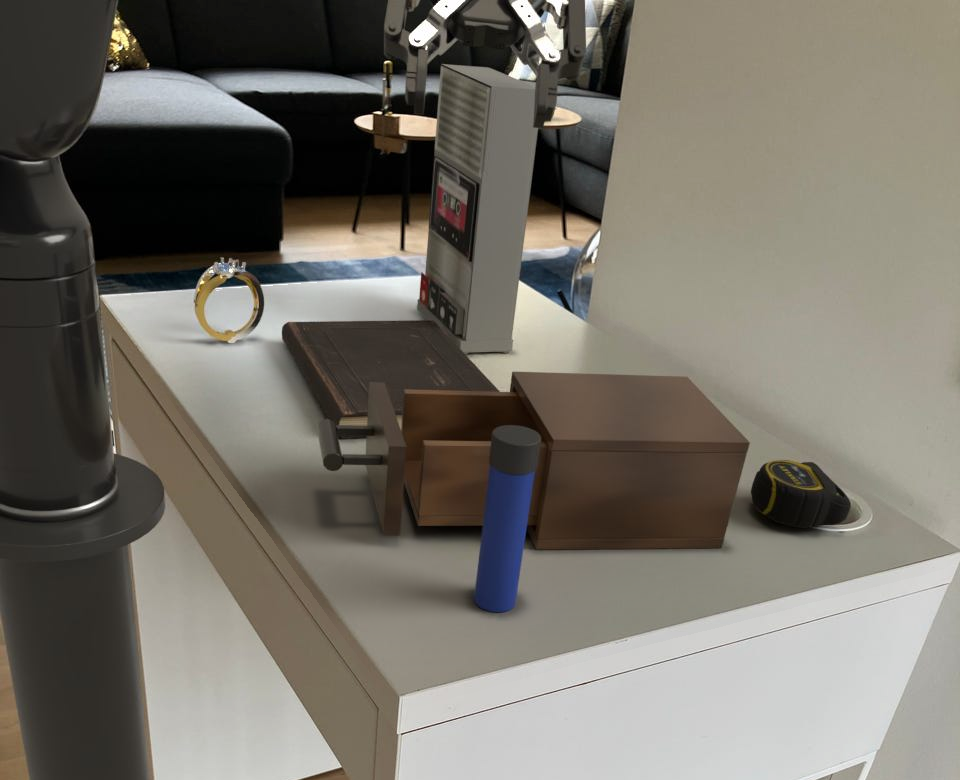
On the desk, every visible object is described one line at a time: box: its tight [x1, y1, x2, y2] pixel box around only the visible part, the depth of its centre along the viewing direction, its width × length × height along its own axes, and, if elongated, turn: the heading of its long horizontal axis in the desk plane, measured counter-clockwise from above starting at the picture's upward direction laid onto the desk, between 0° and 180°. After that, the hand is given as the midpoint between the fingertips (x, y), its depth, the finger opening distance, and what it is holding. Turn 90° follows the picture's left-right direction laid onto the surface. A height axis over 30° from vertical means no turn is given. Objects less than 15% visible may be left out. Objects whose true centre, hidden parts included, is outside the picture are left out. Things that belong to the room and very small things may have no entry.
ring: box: [193, 257, 265, 344], centre depth 104 cm, size 7×3×8 cm, turn 120°
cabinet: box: [509, 371, 751, 550], centre depth 82 cm, size 15×13×9 cm
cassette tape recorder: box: [416, 63, 539, 355], centre depth 109 cm, size 14×6×25 cm, turn 21°
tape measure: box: [750, 459, 852, 529], centre depth 86 cm, size 7×7×4 cm
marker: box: [473, 425, 541, 613], centre depth 68 cm, size 3×3×12 cm
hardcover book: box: [281, 319, 501, 440], centre depth 100 cm, size 16×23×2 cm
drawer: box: [316, 382, 549, 536], centre depth 79 cm, size 18×12×7 cm, turn 101°
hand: (480, 114), depth 75 cm, fingers open, 8 cm apart
